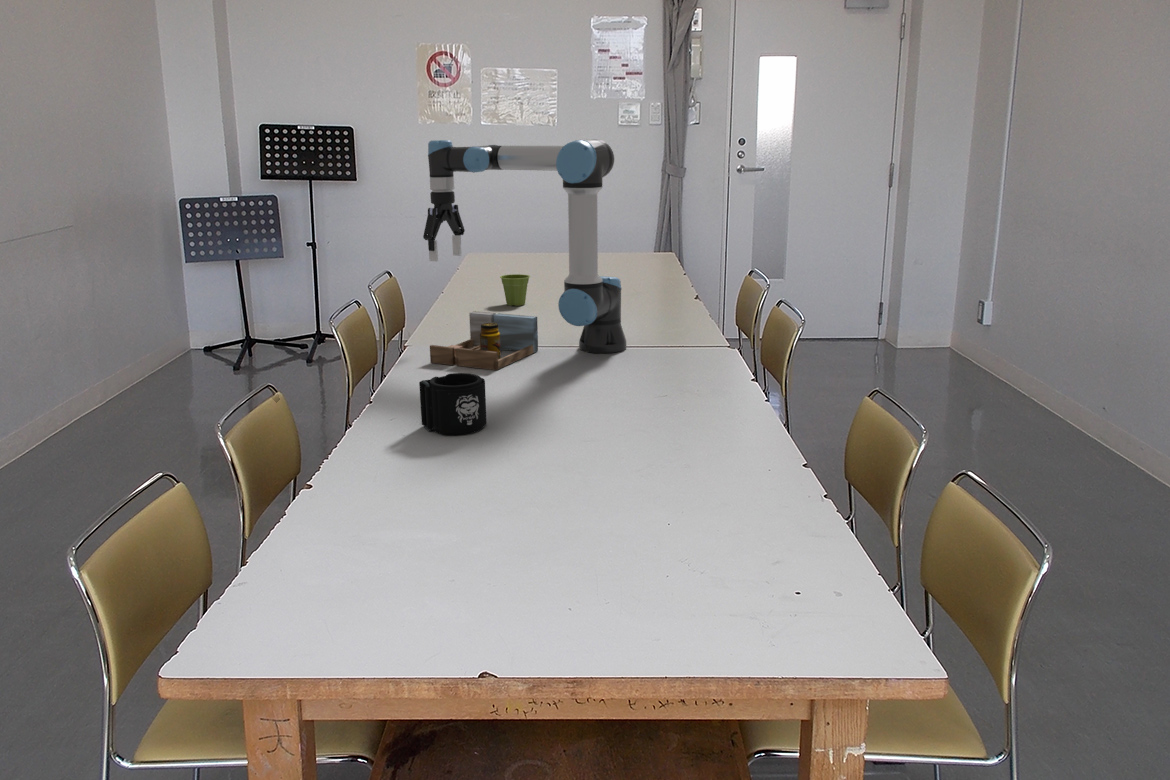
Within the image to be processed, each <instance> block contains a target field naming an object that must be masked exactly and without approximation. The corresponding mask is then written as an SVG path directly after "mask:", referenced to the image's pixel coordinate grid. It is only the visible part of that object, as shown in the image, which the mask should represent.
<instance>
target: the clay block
mask: <svg viewBox="0 0 1170 780" xmlns="http://www.w3.org/2000/svg"><path fill="white" fill-rule="evenodd" d="M456 345H457V344H454V345H453V344H451V345H448V346H447V347H454V351H455V348H463V346H456Z"/></svg>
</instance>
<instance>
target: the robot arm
mask: <svg viewBox="0 0 1170 780" xmlns="http://www.w3.org/2000/svg"><path fill="white" fill-rule="evenodd" d="M427 145H428V146H427V147H428V149H427V157H428V168H429V189H430V191H431V192H430V203H431V204H432V205H433V207H428V208H427V217H426V222H425V225H424V231H423V239H424V240H425V241H427V247H428V257H429V259H428V260H429V262H439V254H438V251H439V250H438V240H436V238H437V236H438V232H439V230H440V227H441V225H442V224H443V223H444V222H445V221H446V223H447V224H448V227H450V229H451V231H452V233H453V235H451V239H452V240H451V241H452V242H451V243H452V255H453V256H461V257H462V240H461V239H462V236H464V234H465V231H466V230H465V226H464V224H463V220H462V217H461V214H460V211H459V205H458V204H455V201H456V200H455V199H456V197H455V192H454V191H453V190H454V189H455V181H454V180H455V178H454V173H457V172H459V173H461V172H463V173H482V172H485V171H493V170H495V171H504V170H505V171H507V170H508V171H546V172H547V171H549V172H550V171H553V172H556V171H557V173H558V175H559V176H560V178H561V179H562V189H563V190H564V191H565V192H566V193H567V195H568V196H567V197H568V198H567V201H568V203H567V204H568V207H567V208H568V209H567V211H568V217H567V218H568V276H566V278H564V282H563V285H564V286H563V289H564V290H563V291H564V292H563V293H561V295H560V297H559V299H558V303H557V304H558V305H557V306H558V311H559V314H560V316H561V317H562V318H563V320H565V322H566V323H568V324H570V326H571V325H572V326H574V327H583V328H582V331H581V334H580V337H579V340H578V341H579V342H578V343H579V344H578V348H579V350H581V351H582V352H587V353H593V354H612V353H618V352H622V351H624V350H626V349H627V339H626V335H625V333H624V329H623V326H622V284H621V279H620V278H619V277H615V276H603V275H602V276H601V275H599V274H598V273H599V272H598V271H599V270H598V268H599V267H598V264H599V263H598V255H599V254H598V250H599V249H598V247H599V246H598V245H599V243H598V194H599V192H600V191H601V190H602V189H603V178H605V177H606V176H607V175H609V174H610V172H611V171H612V170H613V168H614V165H615V155H614V151H613V149H612V147H611V146H610V145H609V144H608V143H607V142H605V141H604V140H601V139H598V138H597V139H595V138H593V139H575V140H572V141H570V142H568V143H565V144H564V145H499V144H498V145H497V144H488V145H476V146H475V145H474V146H473V145H472V146H454V145H453V142H452V140H449V139H441V140H440V139H438V140H437V139H436V140H435V139H434V140H430V141H428V143H427Z"/></svg>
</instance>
